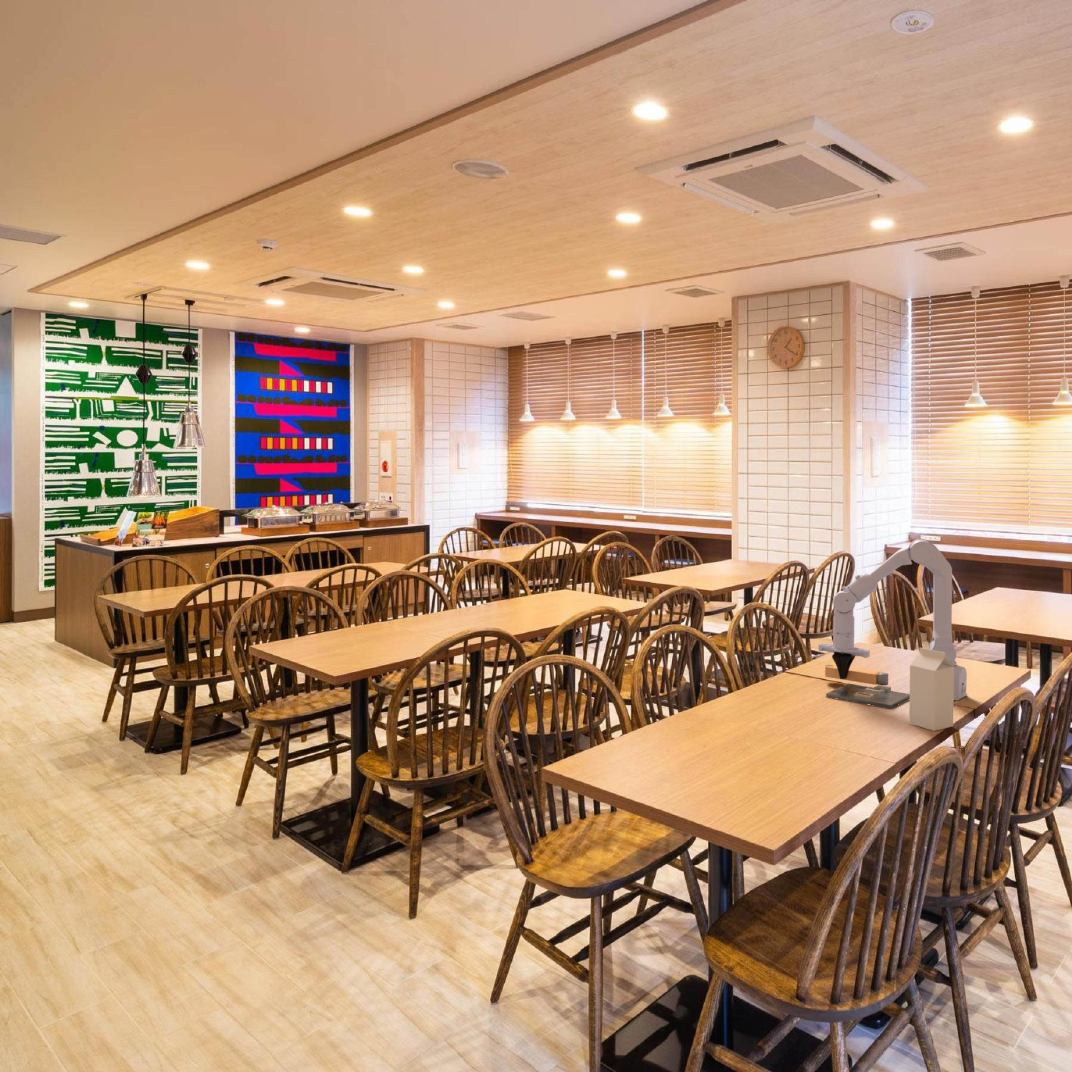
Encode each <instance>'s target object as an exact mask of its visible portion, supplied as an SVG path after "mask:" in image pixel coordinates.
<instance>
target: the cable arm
mask: <svg viewBox="0 0 1072 1072" xmlns="http://www.w3.org/2000/svg"><path fill="white" fill-rule="evenodd" d="M824 672H825V673H824V677H825V678H831V679H835V680H836V679H837V680H838V679H839V680H843V681H849V682H857V683H863V684H867V685H868V684H869V685H874V686H878V685H881V686H888V685H889V673H887V672H882V671H878V670H870V669H865V668H864V669H863V668H858V667H857V668H856V667H852V666H850V668H849V671H848V675H847V678H846V679H840V676H839V672H838V669H837V666H836V664H832V663H830V664H826V665H825V670H824Z"/></svg>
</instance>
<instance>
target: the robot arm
mask: <svg viewBox="0 0 1072 1072" xmlns="http://www.w3.org/2000/svg"><path fill="white" fill-rule="evenodd" d="M912 561H913V562H915V563H916V564H919V565H920V566H923V567H926V569H928V570H929V571H930V572H931V573H932V574H933V577H932V578H933V579H932V580H933V581H932V582H933V584H932V585H933V590H932V591H933V592H932V595H933V596H932V597H933V598H932V599H933V601H932V602H933V603H932V606H933V607H932V609H933V610H932V611H933V613H932V614H933V616H932V619H933V621H932V624H933V625H932V626H933V627H932V638H931V640H930V642H929V644H928V649H929V650H934V651H939V652H944V653H945V657H946V658H947V660H948V661H949V662H950V663H951V664H952V665H953V666H954V701H960V700H961V699H963V698H964V697H966V696H968V693H967V669H966V667H965V666H960V665H959V664H957V661H956V659H957V651H956V650H957V649H955V647H954V643H953V631H952V626H953V625H952V622H953V620H952V618H953V616H952V615H953V612H952V611H953V610H952V609H953V608H952V607H953V605H952V604H953V602H952V601H953V568H952V566H951V564H950V563H949V561H948V560H947V558H946V557H945V556H944V555H943V553H942V552H941V551H940V549H939V548H938V547H937V546H936V545H935V544H933V543H932V542H931V541H929V540H927V539H925V538H916V539H914V540H912V541H911V542H910V544H907V545H905V546H903V547H901V548H900V549H899V550H897V551H896V552H895V553H893V554H892V555H891V556H890V557H889V558H887V559H886V560H885V561H884V562H882V563H881V564H880V565H879V566H878V567H876V568H875V569H874V570H873V571H871V572H870V573H864V572H863V573H862V574H857V575H856V576H855V577H854V578H855V579H854V580H853V581H852V582H850V583H849V584H848V585H847V586H846V585H844V586H842V588H841V589H842V590H840V591H838V592H836V593H835V595H834V597H833V601H832V605H833V607H834V610H833V619H832V620H833V623H832V625H833V627H832V629H833V630H832V631H833V632H832V635H833V636H832V637H833V641H832V642H833V643H832V644H828V643H820V644H818V652H827V653H833V654H832V655H831V659H832V660H833V661H834V663H835V664H834V665H836V666H837V669H838V672H839V676H840V679H839V680H842V679H846V678H847V675H848V671H849V668H850V667H852V666H851V665H852V664H853V661H854V660H855V658H856V657H861V658H865V659H868V658H870V653H871V652H870V649H864V648H860V647H855V616H854V609H855V606H856V604H857V603H861V602H862V601H863V600H864V599H866V598H867V597H868V596H870V595H871V594H872V593H874V592H875V591H876V590H877V589H878V583H879V582H880V581H882V580H883V579H885V578H887V576H889V575H890V574H891V573H893V572H894V571H895V570H897V569H898V568H900V567H901V566H906V565H907V566H909V565H913V563H912Z"/></svg>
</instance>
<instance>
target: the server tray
mask: <svg viewBox="0 0 1072 1072" xmlns="http://www.w3.org/2000/svg"><path fill="white" fill-rule="evenodd" d="M825 695H826V698H830V697H832V698H831V699H835V698H838V699H837V700H842V701H846V700H848V701H847V702H851V701H853V702H852V703H856V704H857V703H858V704H862V703H863V704H862V705H867V704H870V705H869V706H872V705H873V707H878V706H879V707H878V708H883V707H885V709H890V710H891V709H893V708H895V707H898V706H899V705H901V704H903V703H905V702H907V701H909V700H910V693H907V692H906V693H904V692H899V691H893V690H892V686H887V685H875V686H874V687H872V686H864V685H859V684H853V683H847V684H844V685H842V686H840V687H838V688H835V689H833V690H831V691H828V692H826V693H825ZM908 699H909V700H908ZM906 700H907V701H906ZM904 701H905V702H904ZM898 704H899V705H898Z"/></svg>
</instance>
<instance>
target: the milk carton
mask: <svg viewBox="0 0 1072 1072" xmlns="http://www.w3.org/2000/svg"><path fill="white" fill-rule="evenodd" d="M909 694H910V699H909V710H908V711H909V713H908V714H909V715H908V716H909V718H908V720H909V723H908V724H910V725H913V726H917V727H920V728H924V729H927V730H930V731H933V732H934V731H939V730H943V729H944V730H945V729H948V728H951V727H954V701H955V700H954V666H953V665H952V664H951V663H950V662H949V661H948V660H947V658H946V657H945V653H944V652H939V651H934V650H929V648H923V647H919V652H918V653H917V655H916V656H915V657H914V659H913V660H912V661H911V663H910V664H909Z"/></svg>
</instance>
